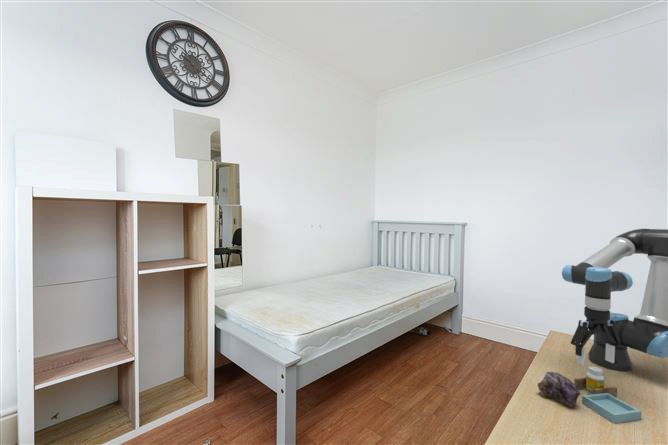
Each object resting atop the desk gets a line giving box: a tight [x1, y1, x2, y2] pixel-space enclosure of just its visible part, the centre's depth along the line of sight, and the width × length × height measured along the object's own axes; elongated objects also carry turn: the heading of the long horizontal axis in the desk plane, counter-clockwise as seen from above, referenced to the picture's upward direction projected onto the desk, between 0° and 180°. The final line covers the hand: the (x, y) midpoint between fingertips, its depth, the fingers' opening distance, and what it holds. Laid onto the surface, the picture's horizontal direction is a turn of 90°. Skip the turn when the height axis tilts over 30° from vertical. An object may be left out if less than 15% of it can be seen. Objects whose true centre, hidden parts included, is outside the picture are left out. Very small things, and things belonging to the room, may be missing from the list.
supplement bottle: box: [585, 365, 605, 395], centre depth 119 cm, size 5×5×10 cm
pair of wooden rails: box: [573, 377, 618, 398], centre depth 119 cm, size 10×8×4 cm
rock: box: [537, 371, 581, 409], centre depth 115 cm, size 12×9×10 cm
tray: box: [581, 393, 642, 424], centre depth 108 cm, size 11×11×3 cm
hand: (595, 362), depth 118 cm, fingers open, 13 cm apart
